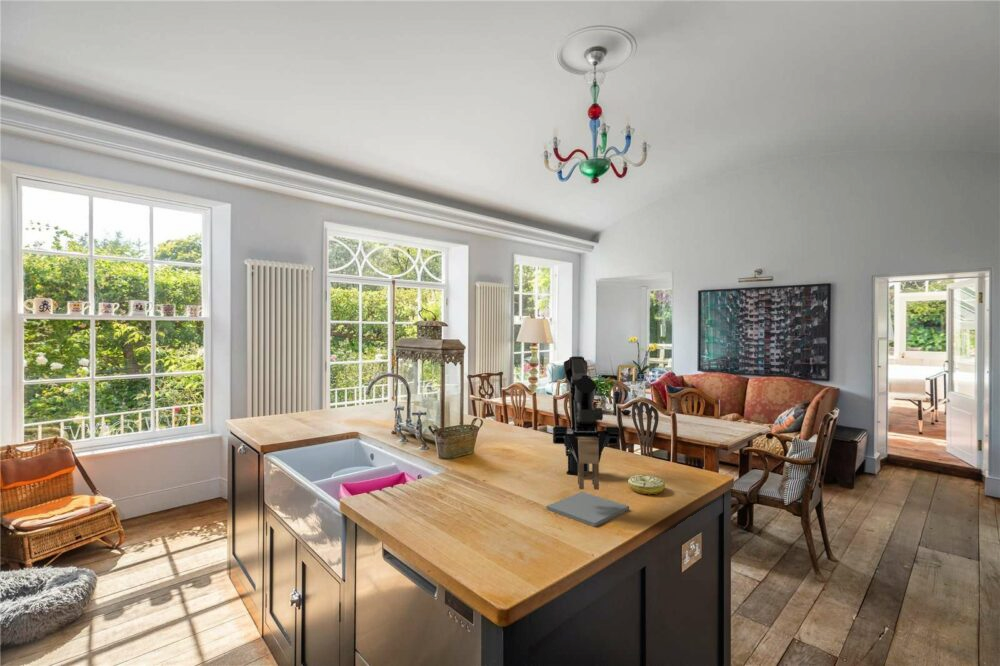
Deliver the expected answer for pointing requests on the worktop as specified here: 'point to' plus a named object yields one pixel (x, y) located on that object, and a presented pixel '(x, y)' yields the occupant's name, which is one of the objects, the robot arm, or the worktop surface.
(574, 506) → the mat
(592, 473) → the stool
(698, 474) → the worktop surface
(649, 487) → the decorated donut
